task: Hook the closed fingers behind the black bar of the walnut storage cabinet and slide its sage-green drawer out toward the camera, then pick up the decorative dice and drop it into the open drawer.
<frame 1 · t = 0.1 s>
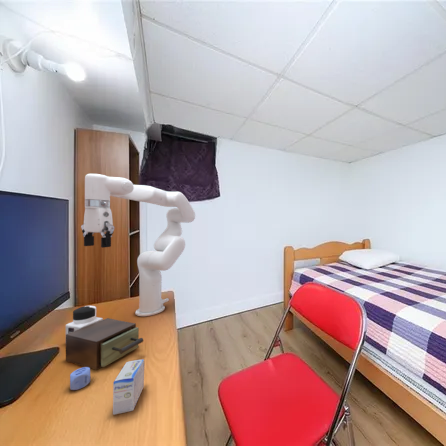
hand: (97, 246, 88), 37 cm above the table, tool pointing down, fingers open, 9 cm apart
decorative dice: (80, 385, 62), on the table
cabinet: (102, 353, 77), on the table
drawer: (113, 343, 75), point 5 cm above the table, slide at 1.0 cm
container: (84, 340, 85), on the table
medicine box: (129, 401, 57), on the table
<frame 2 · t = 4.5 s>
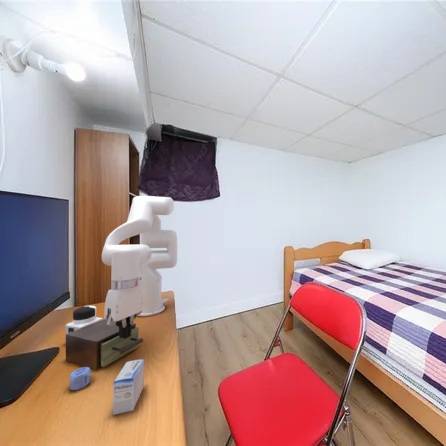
hand: (125, 336, 73), 8 cm above the table, tool pointing down, fingers closed
drawer: (113, 343, 75), point 5 cm above the table, slide at 1.0 cm, touching gripper
everything else where it was.
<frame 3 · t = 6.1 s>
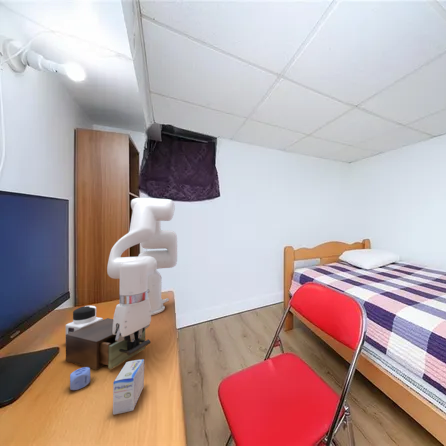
hand: (133, 350, 73), 4 cm above the table, tool pointing down, fingers closed
drawer: (120, 345, 74), point 5 cm above the table, slide at 4.2 cm, touching gripper
everything else where it was.
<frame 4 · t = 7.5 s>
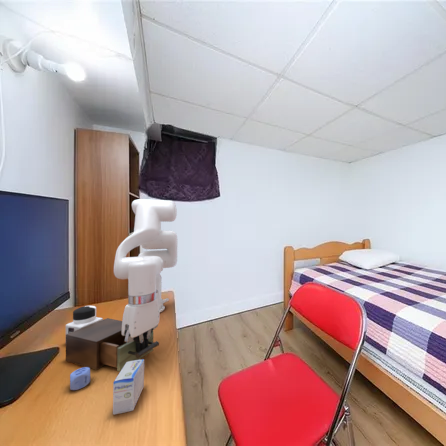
hand: (142, 351, 72), 4 cm above the table, tool pointing down, fingers closed
drawer: (128, 347, 73), point 5 cm above the table, slide at 8.0 cm
everything else where it was.
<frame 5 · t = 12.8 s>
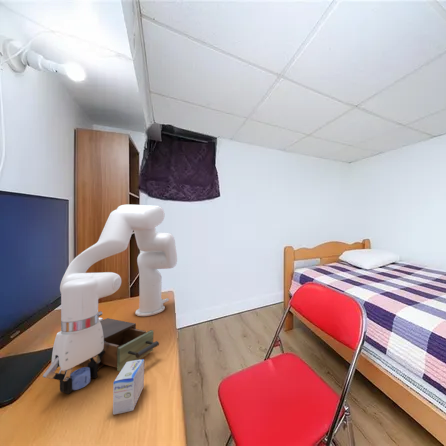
hand: (80, 383, 62), 0 cm above the table, tool pointing down, fingers closed on decorative dice, 5 cm apart
decorative dice: (80, 385, 62), on the table, touching gripper
everything else where it was.
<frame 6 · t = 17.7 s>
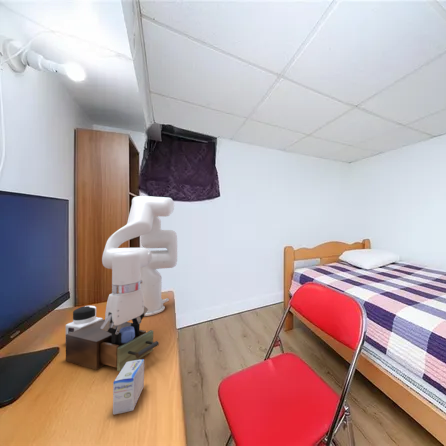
hand: (126, 339, 74), 7 cm above the table, tool pointing down, fingers closed on decorative dice, 5 cm apart
decorative dice: (126, 341, 74), point 7 cm above the table, touching gripper
everything else where it was.
when the fingers open (10 cm above the table, at t = 33.4 s): decorative dice drops 7 cm, resting on drawer.
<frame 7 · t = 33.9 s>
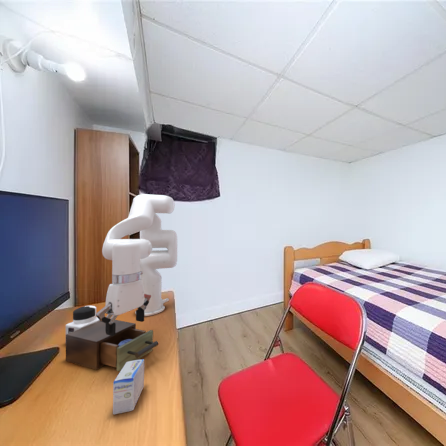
hand: (126, 327, 73), 11 cm above the table, tool pointing down, fingers open, 9 cm apart
decorative dice: (125, 354, 74), point 2 cm above the table, touching drawer
drawer: (127, 347, 73), point 5 cm above the table, slide at 7.7 cm, touching decorative dice
everything else where it was.
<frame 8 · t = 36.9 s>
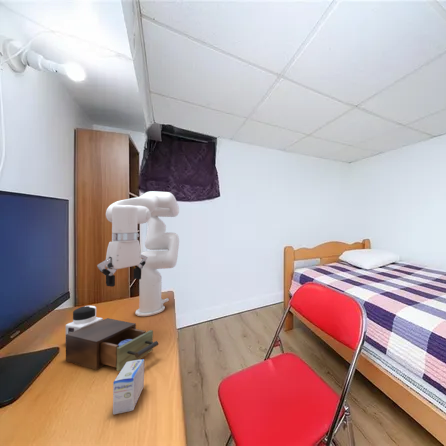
hand: (124, 282, 81), 24 cm above the table, tool pointing down, fingers open, 9 cm apart
nothing on the table moved.
at the end: drawer slide at 7.7 cm; decorative dice inside the target area in the cabinet (6.4 cm from its centre), point 1.8 cm above the cabinet's base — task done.
